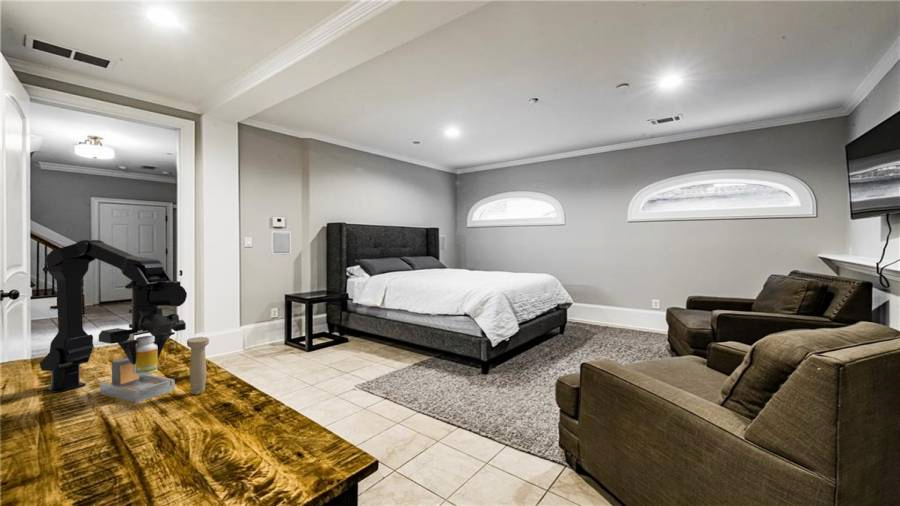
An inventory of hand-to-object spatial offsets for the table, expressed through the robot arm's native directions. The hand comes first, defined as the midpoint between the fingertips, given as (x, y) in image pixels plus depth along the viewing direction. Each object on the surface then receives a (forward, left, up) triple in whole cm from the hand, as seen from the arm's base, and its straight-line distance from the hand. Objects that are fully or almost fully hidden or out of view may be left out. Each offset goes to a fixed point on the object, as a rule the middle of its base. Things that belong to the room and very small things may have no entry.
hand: (145, 361), depth 105 cm
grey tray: (-3, 0, -9) cm, 10 cm away
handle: (+13, +6, -9) cm, 17 cm away
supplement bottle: (0, 0, -3) cm, 3 cm away
